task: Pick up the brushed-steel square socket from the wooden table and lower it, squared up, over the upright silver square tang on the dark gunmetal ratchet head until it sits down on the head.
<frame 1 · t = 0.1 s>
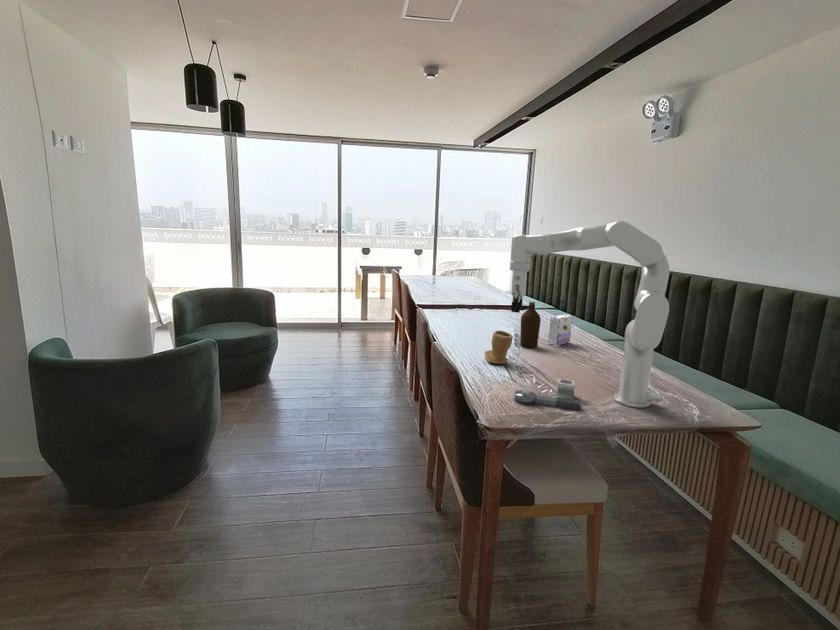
hand: (516, 310, 167), 31 cm above the table, tool pointing down, fingers open, 9 cm apart
tan boot: (497, 361, 205), on the table
olive oil: (528, 346, 235), on the table
ratchet: (525, 400, 156), on the table
candy box: (558, 344, 243), on the table
socket: (564, 396, 161), on the table
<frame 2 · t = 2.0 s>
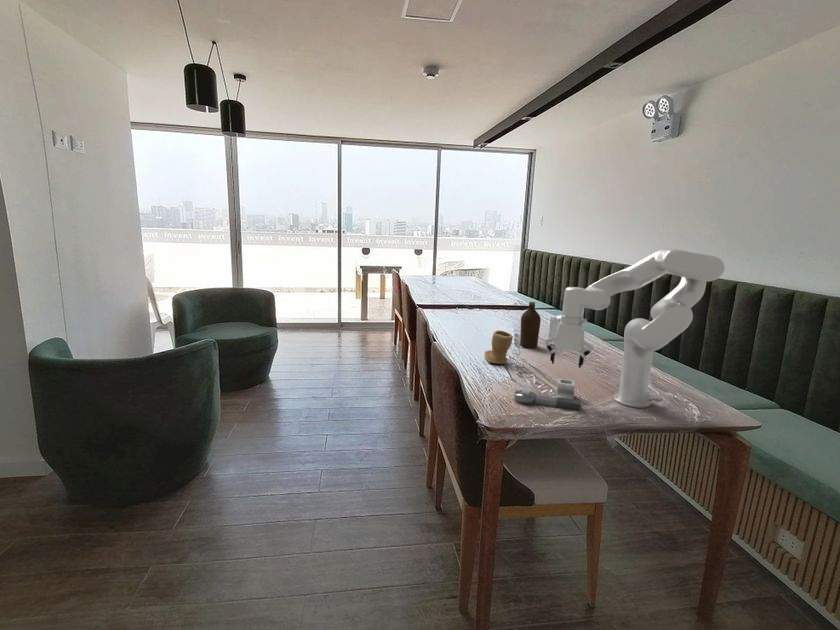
hand: (566, 364, 159), 13 cm above the table, tool pointing down, fingers open, 9 cm apart
nothing on the table moved.
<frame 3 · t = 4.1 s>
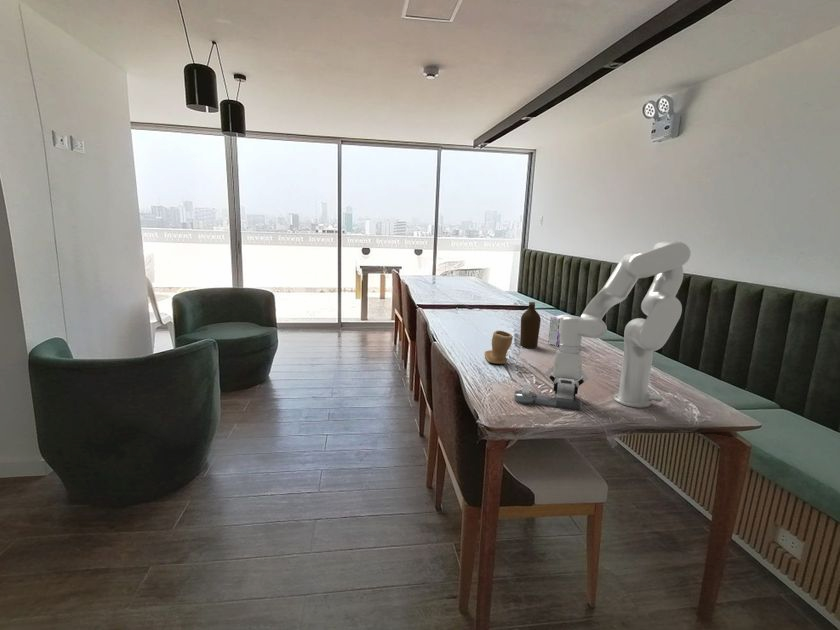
hand: (565, 393, 161), 1 cm above the table, tool pointing down, fingers closed on socket, 6 cm apart
socket: (564, 396, 161), on the table, touching gripper
everything else where it was.
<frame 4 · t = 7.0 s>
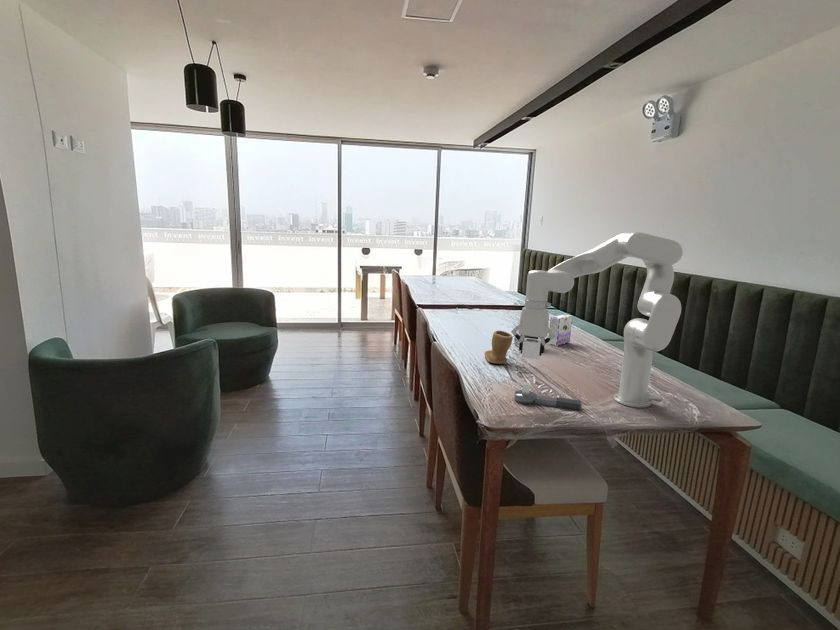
hand: (531, 353, 153), 18 cm above the table, tool pointing down, fingers closed on socket, 6 cm apart
socket: (530, 356, 154), point 17 cm above the table, touching gripper
everything else where it was.
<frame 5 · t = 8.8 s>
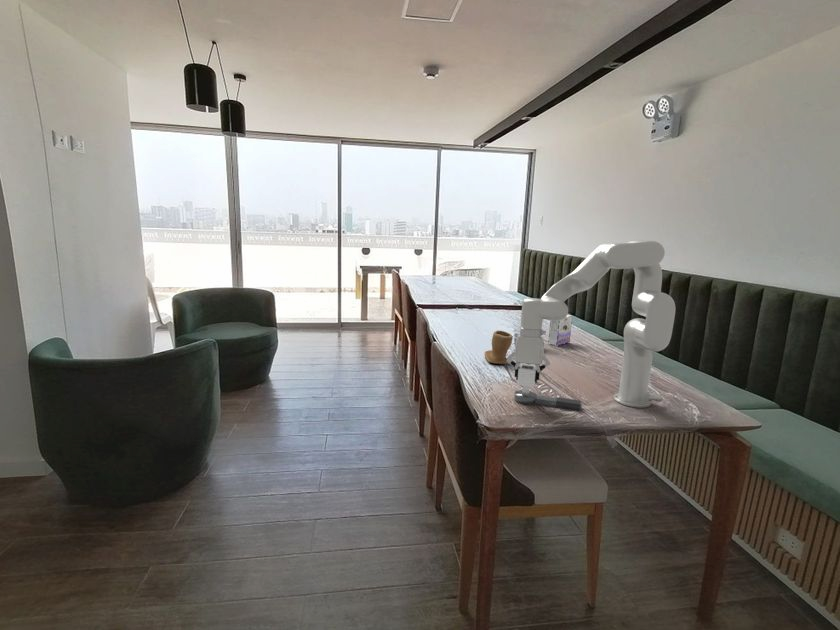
hand: (526, 379, 155), 8 cm above the table, tool pointing down, fingers closed on socket, 6 cm apart
socket: (526, 382, 155), point 7 cm above the table, touching gripper
everything else where it was.
when the fingers open (5 cm above the table, at t = 10.3 s): socket stays where it is, resting on ratchet.
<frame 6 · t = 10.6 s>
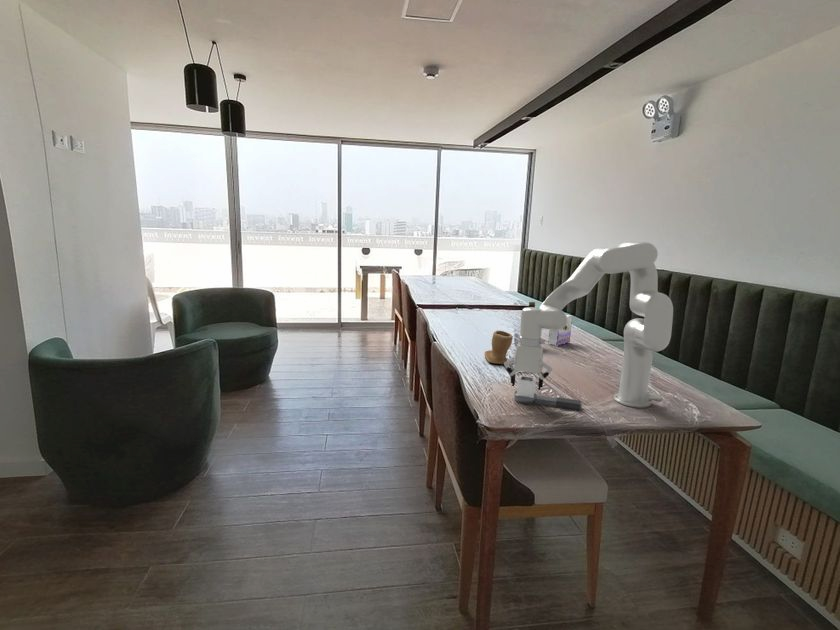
hand: (526, 386, 155), 5 cm above the table, tool pointing down, fingers open, 9 cm apart
socket: (525, 394, 156), point 2 cm above the table, touching ratchet
everything else where it was.
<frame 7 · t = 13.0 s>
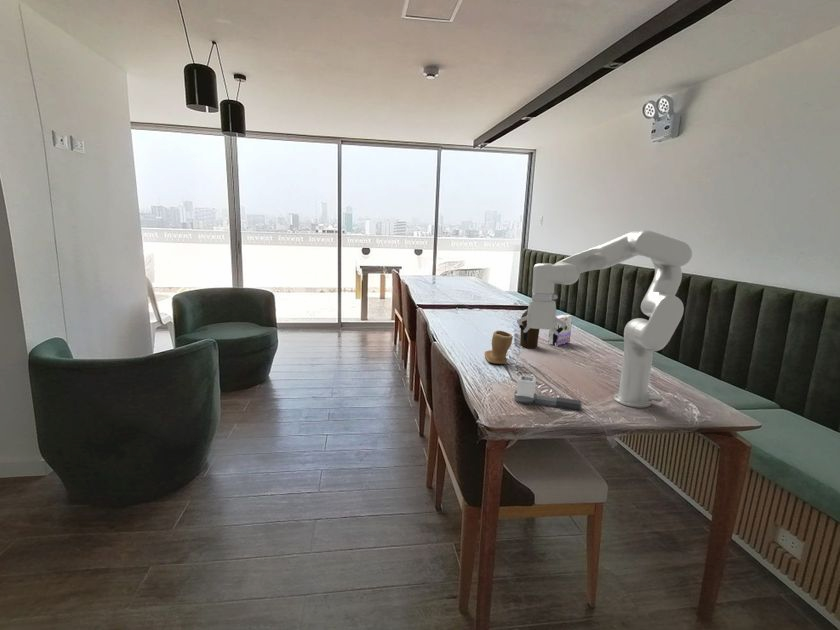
hand: (539, 343, 155), 21 cm above the table, tool pointing down, fingers open, 9 cm apart
nothing on the table moved.
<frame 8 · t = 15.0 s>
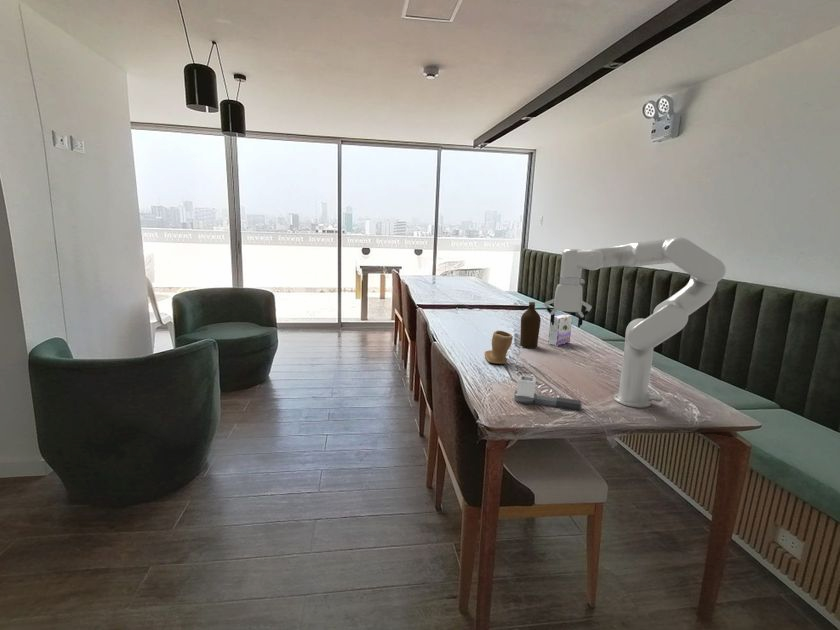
hand: (565, 325, 164), 26 cm above the table, tool pointing down, fingers open, 9 cm apart
nothing on the table moved.
at the end: socket 0.1 cm from the ratchet (horizontally); socket point 2.5 cm above the table; socket tilted 0° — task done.
